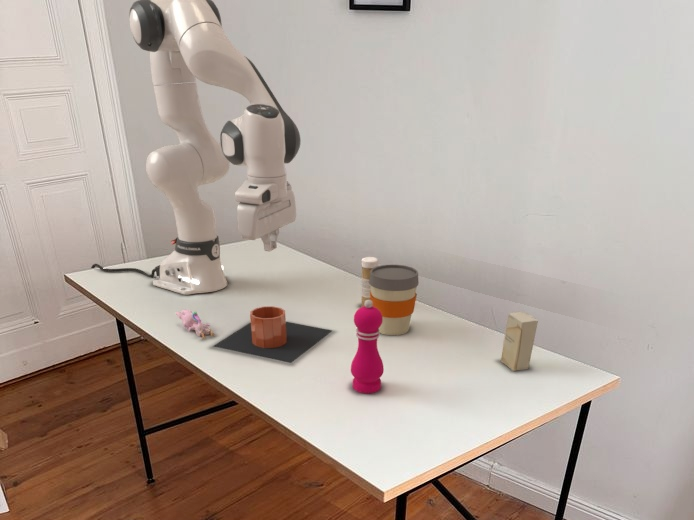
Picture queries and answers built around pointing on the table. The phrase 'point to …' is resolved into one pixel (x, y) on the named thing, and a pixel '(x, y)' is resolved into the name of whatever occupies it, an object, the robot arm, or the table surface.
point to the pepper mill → (367, 350)
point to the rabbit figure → (194, 323)
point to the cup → (268, 327)
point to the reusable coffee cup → (394, 296)
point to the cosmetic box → (519, 340)
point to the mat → (296, 345)
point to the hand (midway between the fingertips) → (270, 249)
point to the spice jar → (367, 277)
